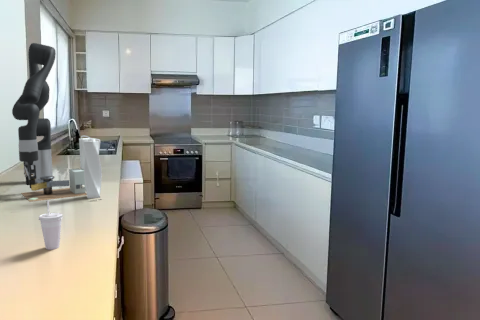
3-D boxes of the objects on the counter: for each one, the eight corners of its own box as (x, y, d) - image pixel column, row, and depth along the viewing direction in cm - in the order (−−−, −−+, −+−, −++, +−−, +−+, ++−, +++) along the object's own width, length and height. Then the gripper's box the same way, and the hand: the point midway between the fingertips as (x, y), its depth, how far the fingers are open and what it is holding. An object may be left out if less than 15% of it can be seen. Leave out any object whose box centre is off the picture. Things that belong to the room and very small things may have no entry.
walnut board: (21, 195, 198) (20, 192, 198) (75, 189, 211) (75, 187, 211) (29, 204, 181) (29, 201, 181) (88, 197, 194) (88, 194, 194)
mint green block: (33, 198, 187) (33, 197, 187) (38, 198, 186) (38, 197, 186) (28, 199, 184) (28, 199, 184) (33, 200, 183) (33, 199, 183)
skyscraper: (85, 202, 186) (82, 136, 182) (82, 198, 192) (79, 134, 188) (104, 200, 189) (101, 135, 185) (101, 196, 196) (98, 134, 192)
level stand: (70, 190, 203) (69, 169, 202) (79, 189, 206) (78, 168, 204) (76, 194, 195) (75, 172, 194) (86, 193, 197) (85, 171, 196)
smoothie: (45, 244, 131) (42, 198, 129) (67, 243, 132) (64, 198, 130) (37, 251, 125) (34, 203, 123) (60, 250, 125) (57, 203, 124)
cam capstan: (17, 196, 189) (16, 179, 188) (40, 190, 202) (39, 174, 201) (50, 198, 185) (49, 181, 184) (71, 192, 198) (70, 176, 197)
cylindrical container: (100, 190, 209) (98, 138, 206) (89, 193, 203) (87, 139, 199) (89, 189, 212) (87, 137, 209) (78, 192, 206) (75, 139, 202)
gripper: (16, 149, 194) (18, 185, 196) (21, 152, 183) (24, 190, 185) (34, 148, 198) (36, 183, 201) (41, 151, 187) (43, 188, 189)
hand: (30, 186), depth 193 cm, fingers open, 8 cm apart
